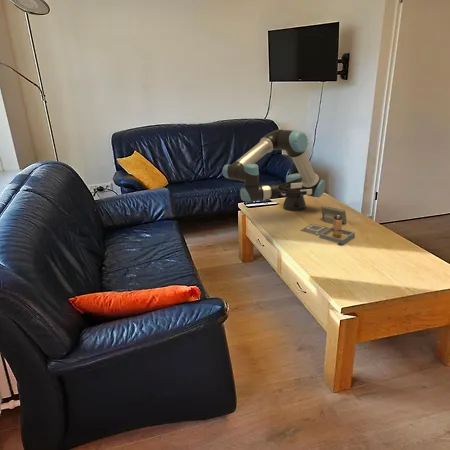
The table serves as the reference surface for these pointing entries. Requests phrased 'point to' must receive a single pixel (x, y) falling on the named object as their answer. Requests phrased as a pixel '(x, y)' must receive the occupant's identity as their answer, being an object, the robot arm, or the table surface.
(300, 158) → the robot arm
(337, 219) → the cell
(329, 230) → the tray
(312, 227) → the checker pad
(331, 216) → the digital clock
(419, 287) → the table surface
